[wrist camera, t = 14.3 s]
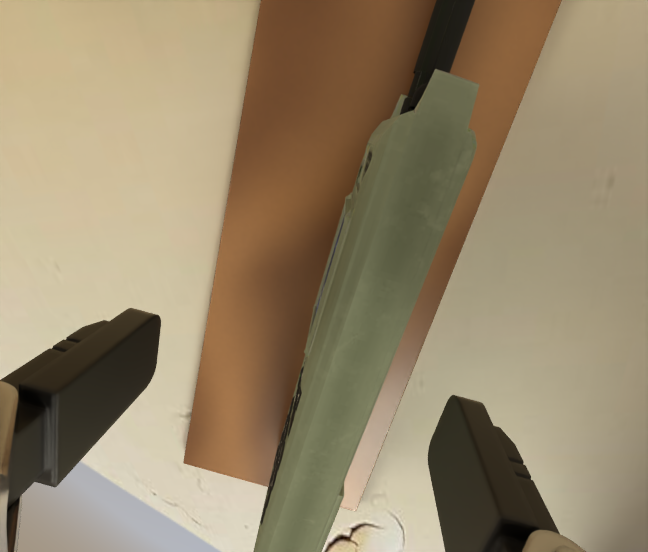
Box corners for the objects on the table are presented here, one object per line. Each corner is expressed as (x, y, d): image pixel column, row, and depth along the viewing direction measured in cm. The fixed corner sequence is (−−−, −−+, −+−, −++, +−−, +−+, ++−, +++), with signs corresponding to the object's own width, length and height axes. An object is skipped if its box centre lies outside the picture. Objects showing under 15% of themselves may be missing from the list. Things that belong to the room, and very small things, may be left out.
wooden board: (590, -86, 14) (600, -95, 13) (356, 503, 24) (356, 512, 24) (293, -167, 14) (290, -180, 13) (187, 455, 24) (183, 463, 24)
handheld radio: (267, 455, 23) (416, -49, 14) (321, 469, 23) (502, -22, 14) (237, 577, 17) (471, -195, 8) (311, 596, 17) (623, -144, 8)
